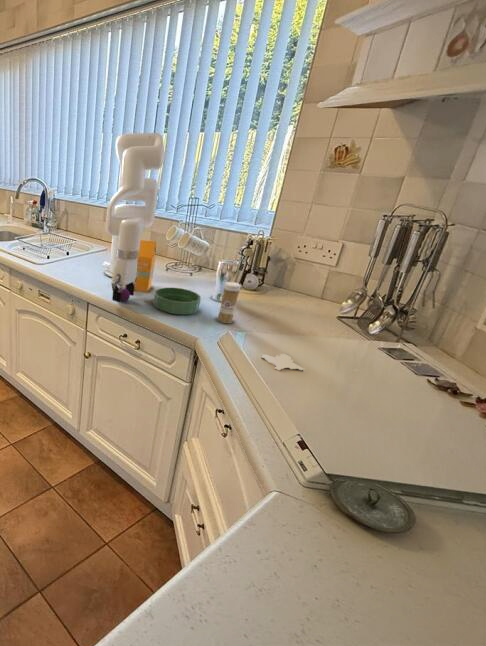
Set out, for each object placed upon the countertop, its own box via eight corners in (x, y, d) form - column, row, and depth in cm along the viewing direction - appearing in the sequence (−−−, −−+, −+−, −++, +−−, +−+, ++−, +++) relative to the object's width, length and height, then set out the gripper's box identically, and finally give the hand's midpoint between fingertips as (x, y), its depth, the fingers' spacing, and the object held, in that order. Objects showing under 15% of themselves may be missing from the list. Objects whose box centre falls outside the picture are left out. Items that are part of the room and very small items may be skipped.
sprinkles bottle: (217, 322, 133) (225, 285, 127) (216, 317, 136) (224, 280, 131) (232, 324, 131) (241, 286, 126) (231, 319, 135) (240, 282, 129)
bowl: (145, 307, 145) (147, 294, 143) (164, 296, 155) (166, 284, 153) (187, 319, 135) (189, 306, 133) (204, 307, 145) (207, 294, 143)
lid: (407, 517, 66) (416, 490, 65) (416, 548, 58) (427, 518, 57) (326, 486, 72) (334, 461, 71) (325, 510, 65) (334, 483, 64)
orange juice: (130, 283, 170) (135, 237, 162) (151, 286, 166) (158, 239, 158) (125, 288, 164) (130, 241, 156) (147, 292, 160) (154, 244, 152)
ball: (113, 301, 152) (114, 289, 150) (120, 297, 155) (121, 285, 153) (124, 304, 148) (126, 292, 146) (131, 301, 151) (133, 288, 149)
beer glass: (229, 303, 147) (238, 265, 141) (209, 299, 151) (217, 262, 145) (232, 298, 152) (241, 261, 146) (213, 294, 156) (220, 258, 150)
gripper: (130, 248, 152) (125, 289, 159) (105, 256, 141) (101, 301, 148) (148, 251, 147) (143, 294, 154) (124, 260, 136) (119, 306, 143)
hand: (122, 297), depth 151 cm, fingers open, 9 cm apart
